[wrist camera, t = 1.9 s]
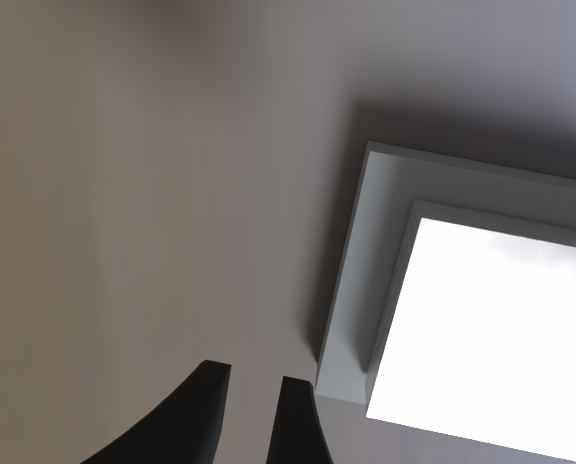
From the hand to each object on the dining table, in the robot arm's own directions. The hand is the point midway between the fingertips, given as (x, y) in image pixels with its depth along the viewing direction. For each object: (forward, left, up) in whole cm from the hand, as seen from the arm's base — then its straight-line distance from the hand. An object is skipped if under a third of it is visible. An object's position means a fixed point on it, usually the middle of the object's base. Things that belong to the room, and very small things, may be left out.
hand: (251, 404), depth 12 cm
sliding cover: (-7, 0, -7) cm, 10 cm away
